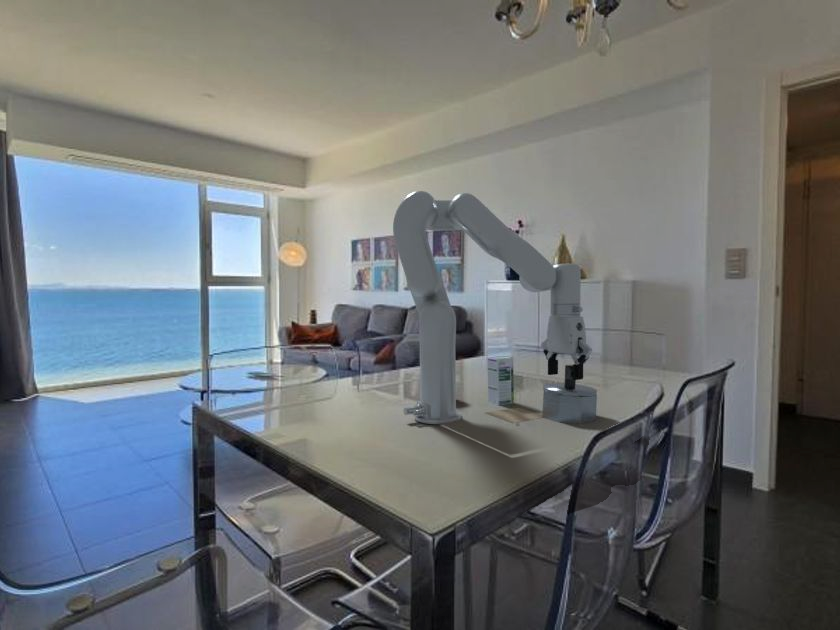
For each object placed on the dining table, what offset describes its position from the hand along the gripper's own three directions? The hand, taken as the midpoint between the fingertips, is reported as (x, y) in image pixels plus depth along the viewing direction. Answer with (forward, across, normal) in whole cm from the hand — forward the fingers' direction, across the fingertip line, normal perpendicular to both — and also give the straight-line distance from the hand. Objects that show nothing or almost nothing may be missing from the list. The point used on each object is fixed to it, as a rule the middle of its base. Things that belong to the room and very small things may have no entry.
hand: (565, 376), depth 125 cm
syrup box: (+11, +22, +4) cm, 25 cm away
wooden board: (+11, +8, +10) cm, 17 cm away
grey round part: (+11, 0, -1) cm, 11 cm away
